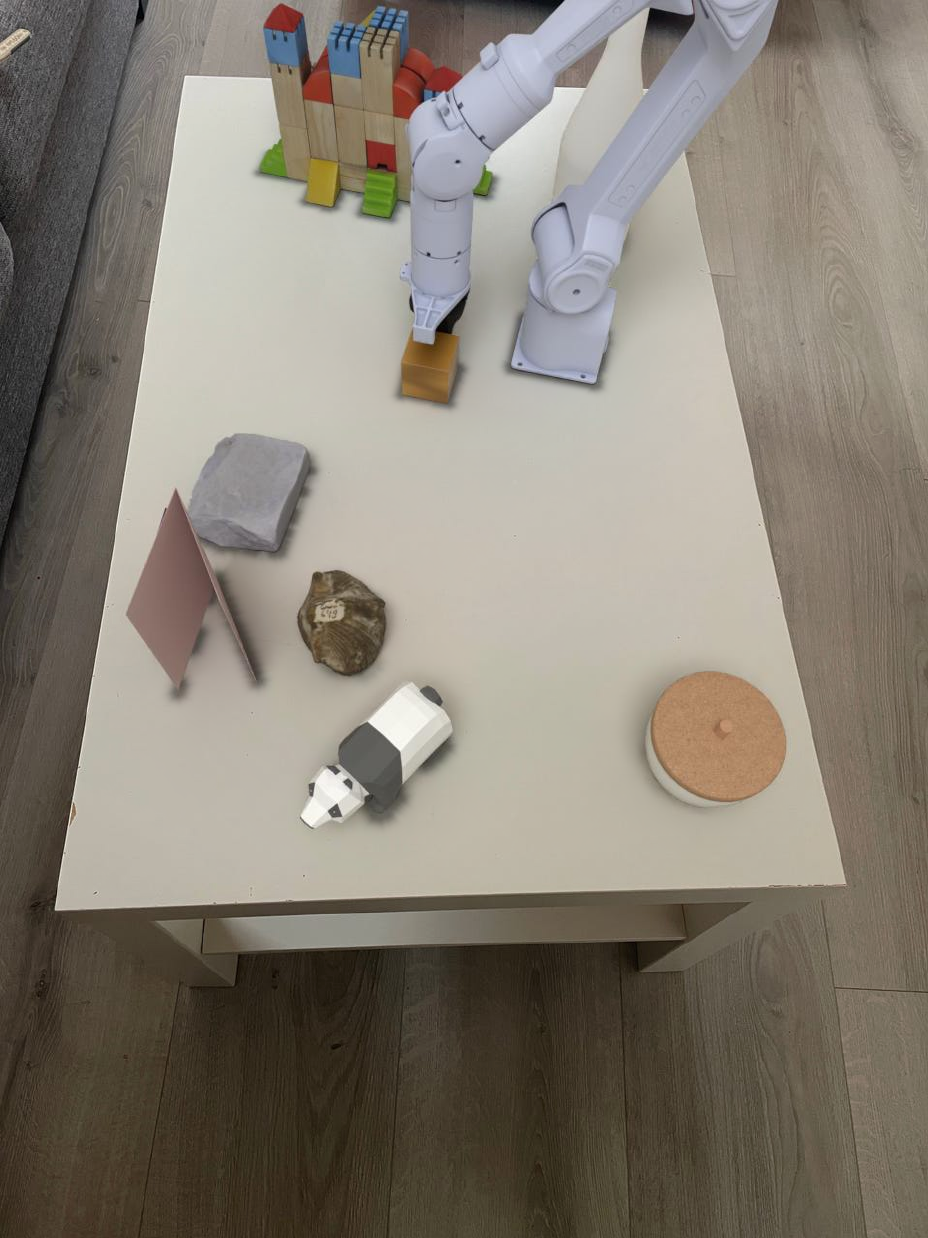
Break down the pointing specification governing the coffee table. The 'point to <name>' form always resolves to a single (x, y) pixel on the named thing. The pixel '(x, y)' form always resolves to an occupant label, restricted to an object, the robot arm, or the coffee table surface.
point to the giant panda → (379, 755)
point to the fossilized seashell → (342, 622)
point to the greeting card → (175, 592)
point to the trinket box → (714, 740)
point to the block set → (350, 107)
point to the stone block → (248, 491)
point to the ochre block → (430, 367)
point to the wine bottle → (603, 106)
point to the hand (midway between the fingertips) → (438, 343)
